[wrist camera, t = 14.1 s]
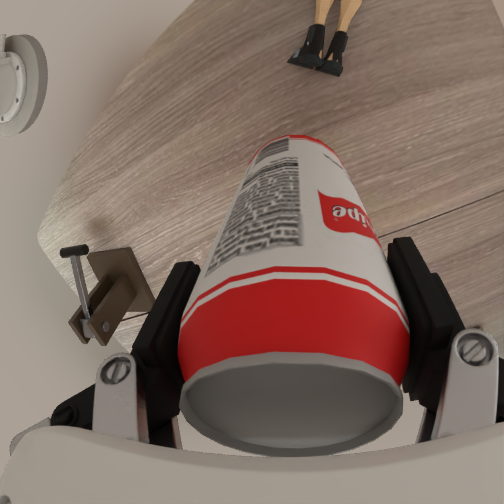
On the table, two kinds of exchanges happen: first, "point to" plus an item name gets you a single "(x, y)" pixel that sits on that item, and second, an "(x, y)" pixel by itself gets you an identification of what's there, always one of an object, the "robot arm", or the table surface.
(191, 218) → the table surface
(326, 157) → the beer can
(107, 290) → the tap bracket
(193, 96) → the table surface
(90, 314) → the grey lever handle
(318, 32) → the figurine
